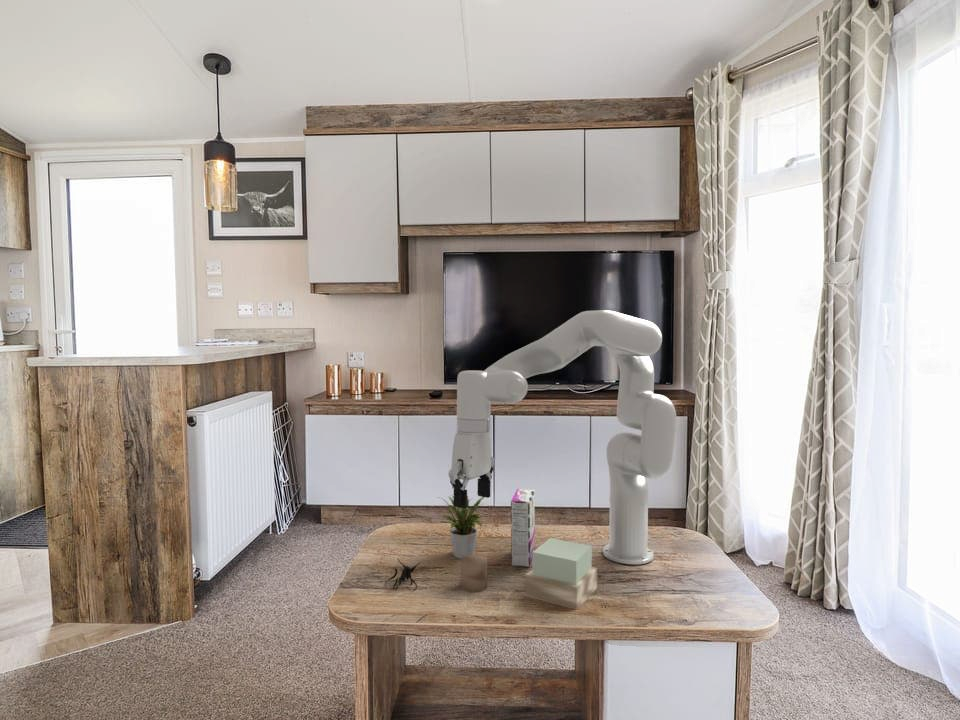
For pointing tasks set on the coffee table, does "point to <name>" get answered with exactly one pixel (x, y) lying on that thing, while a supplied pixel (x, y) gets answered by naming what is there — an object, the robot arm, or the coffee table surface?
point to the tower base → (561, 589)
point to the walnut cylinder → (473, 573)
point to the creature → (404, 575)
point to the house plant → (463, 529)
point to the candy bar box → (522, 528)
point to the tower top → (562, 560)
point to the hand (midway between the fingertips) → (472, 501)
